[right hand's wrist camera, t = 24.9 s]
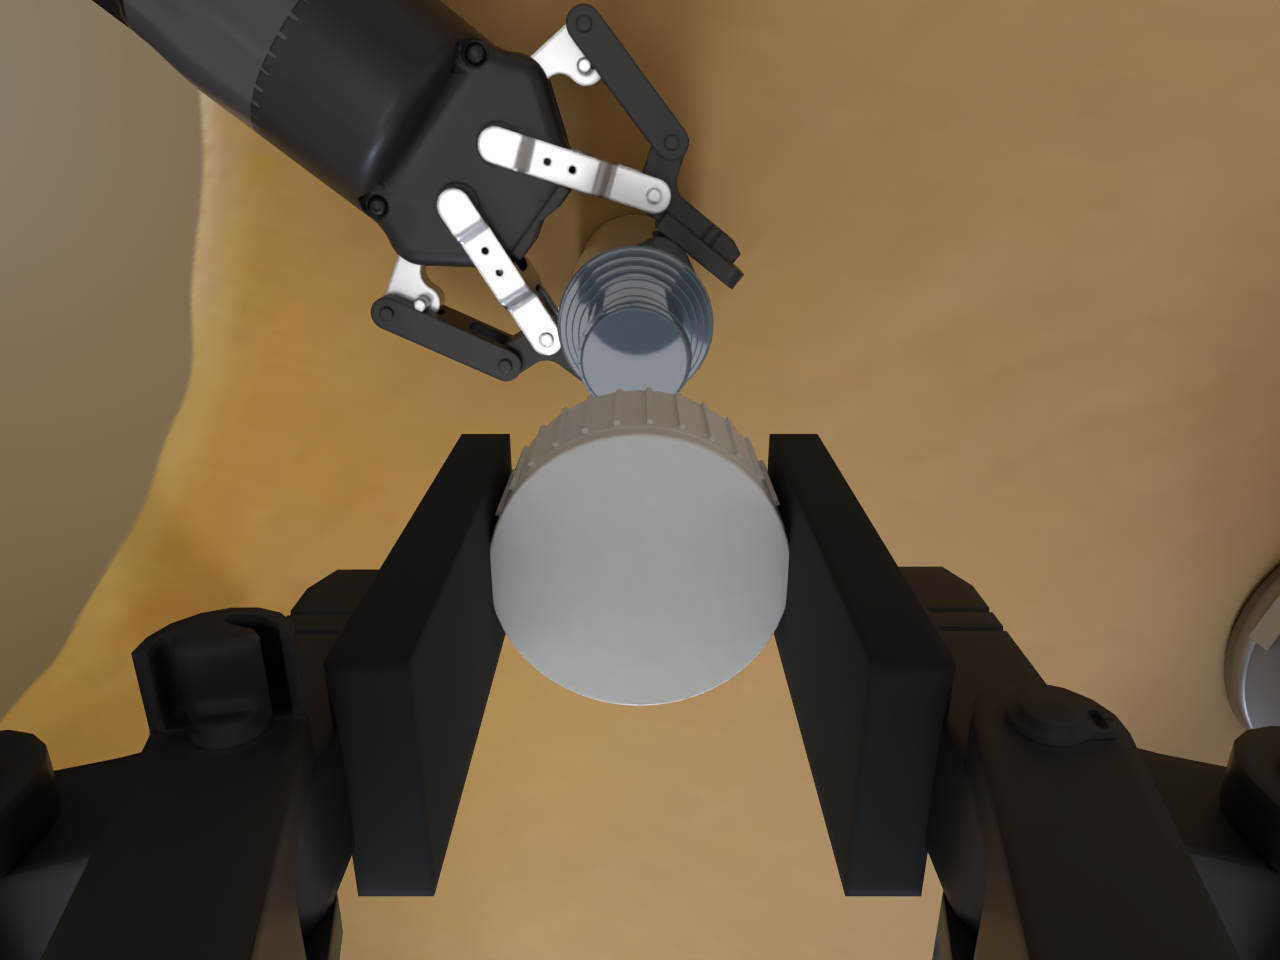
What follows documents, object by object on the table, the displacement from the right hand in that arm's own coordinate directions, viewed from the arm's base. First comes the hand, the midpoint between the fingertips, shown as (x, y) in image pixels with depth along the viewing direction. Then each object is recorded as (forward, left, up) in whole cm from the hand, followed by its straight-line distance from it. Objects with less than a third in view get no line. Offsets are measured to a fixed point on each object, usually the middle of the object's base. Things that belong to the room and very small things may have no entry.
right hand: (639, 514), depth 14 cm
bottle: (0, 0, -27) cm, 27 cm away
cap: (0, 0, +2) cm, 2 cm away
